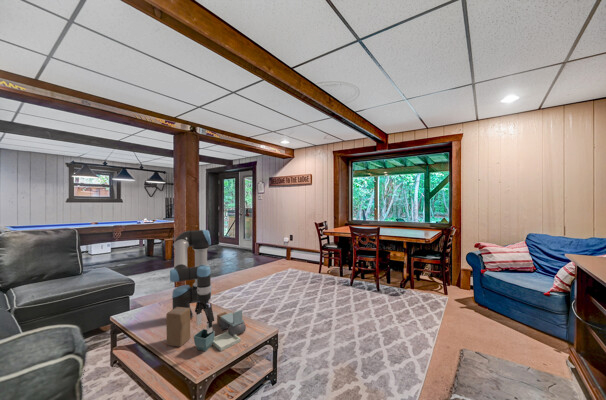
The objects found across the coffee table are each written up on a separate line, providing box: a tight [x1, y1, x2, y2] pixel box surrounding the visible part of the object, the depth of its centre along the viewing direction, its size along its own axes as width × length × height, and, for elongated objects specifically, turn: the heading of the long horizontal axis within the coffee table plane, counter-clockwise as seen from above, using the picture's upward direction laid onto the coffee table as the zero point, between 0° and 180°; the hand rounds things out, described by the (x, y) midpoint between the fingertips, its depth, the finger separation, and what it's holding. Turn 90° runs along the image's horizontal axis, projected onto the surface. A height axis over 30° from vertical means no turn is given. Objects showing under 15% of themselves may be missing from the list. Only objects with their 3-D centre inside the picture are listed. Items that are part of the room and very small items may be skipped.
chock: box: [216, 311, 228, 326], centre depth 181 cm, size 5×6×7 cm
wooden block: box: [165, 307, 191, 348], centre depth 159 cm, size 10×10×20 cm
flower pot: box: [193, 328, 216, 352], centre depth 152 cm, size 9×9×9 cm
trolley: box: [218, 309, 247, 337], centre depth 172 cm, size 19×9×15 cm, turn 46°
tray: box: [212, 330, 242, 352], centre depth 159 cm, size 13×13×2 cm
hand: (204, 328), depth 151 cm, fingers open, 13 cm apart
